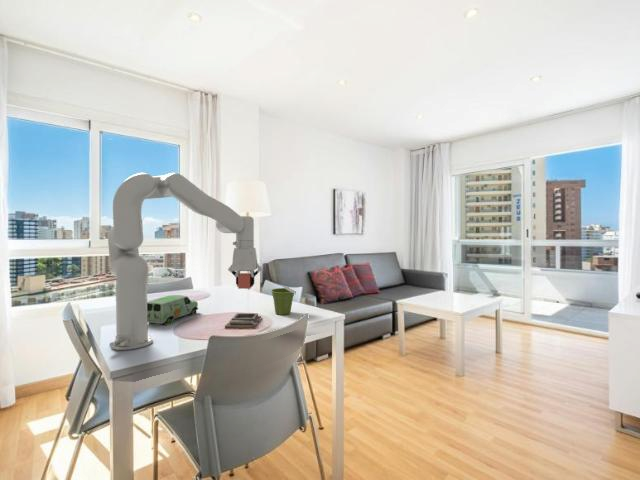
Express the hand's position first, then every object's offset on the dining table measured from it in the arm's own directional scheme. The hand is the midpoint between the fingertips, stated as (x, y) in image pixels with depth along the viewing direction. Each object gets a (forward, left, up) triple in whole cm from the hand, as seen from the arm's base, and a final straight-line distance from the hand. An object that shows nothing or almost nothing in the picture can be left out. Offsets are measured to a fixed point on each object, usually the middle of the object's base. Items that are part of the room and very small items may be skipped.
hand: (245, 285), depth 145 cm
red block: (0, 0, -1) cm, 1 cm away
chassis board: (-2, 0, -16) cm, 16 cm away
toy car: (+5, +34, -16) cm, 38 cm away
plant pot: (+15, -15, -16) cm, 27 cm away
